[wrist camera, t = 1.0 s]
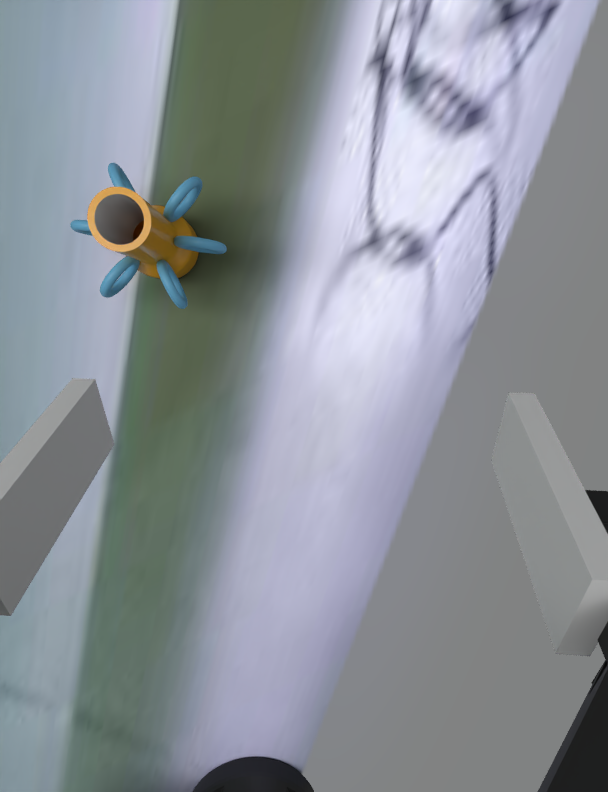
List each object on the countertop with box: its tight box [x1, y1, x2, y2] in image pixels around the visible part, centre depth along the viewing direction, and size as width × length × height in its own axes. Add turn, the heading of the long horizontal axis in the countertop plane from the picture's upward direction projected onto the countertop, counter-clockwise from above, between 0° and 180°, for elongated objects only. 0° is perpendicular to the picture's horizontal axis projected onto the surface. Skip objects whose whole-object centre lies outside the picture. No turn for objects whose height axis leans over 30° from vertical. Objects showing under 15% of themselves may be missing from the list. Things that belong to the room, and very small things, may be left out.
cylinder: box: [71, 163, 227, 309], centre depth 40 cm, size 12×10×15 cm
